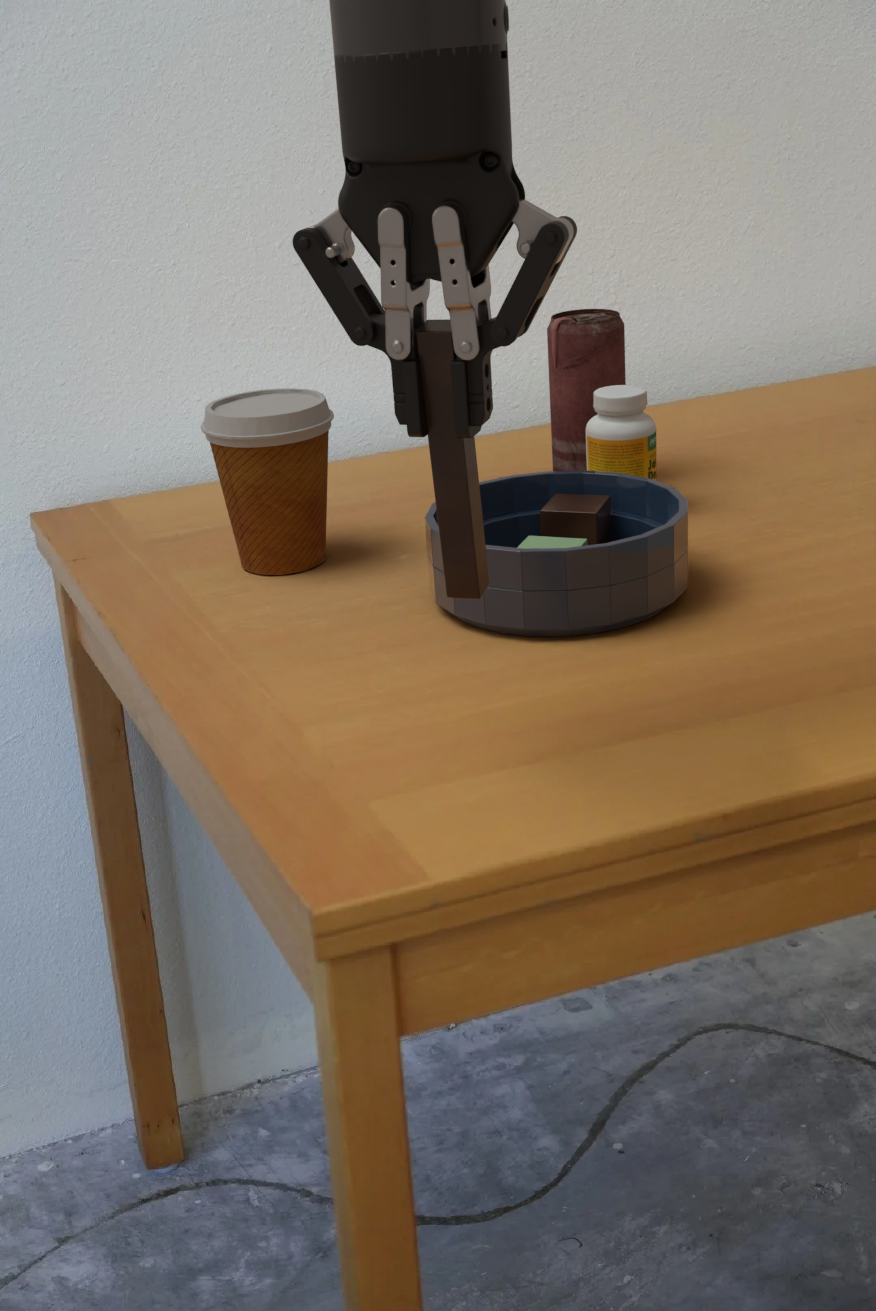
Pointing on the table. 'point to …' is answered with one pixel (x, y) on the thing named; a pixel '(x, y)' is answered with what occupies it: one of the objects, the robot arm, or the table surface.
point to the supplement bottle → (621, 433)
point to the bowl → (571, 557)
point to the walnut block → (578, 517)
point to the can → (580, 376)
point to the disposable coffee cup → (273, 475)
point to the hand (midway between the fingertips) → (445, 432)
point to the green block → (551, 542)
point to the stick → (452, 469)
